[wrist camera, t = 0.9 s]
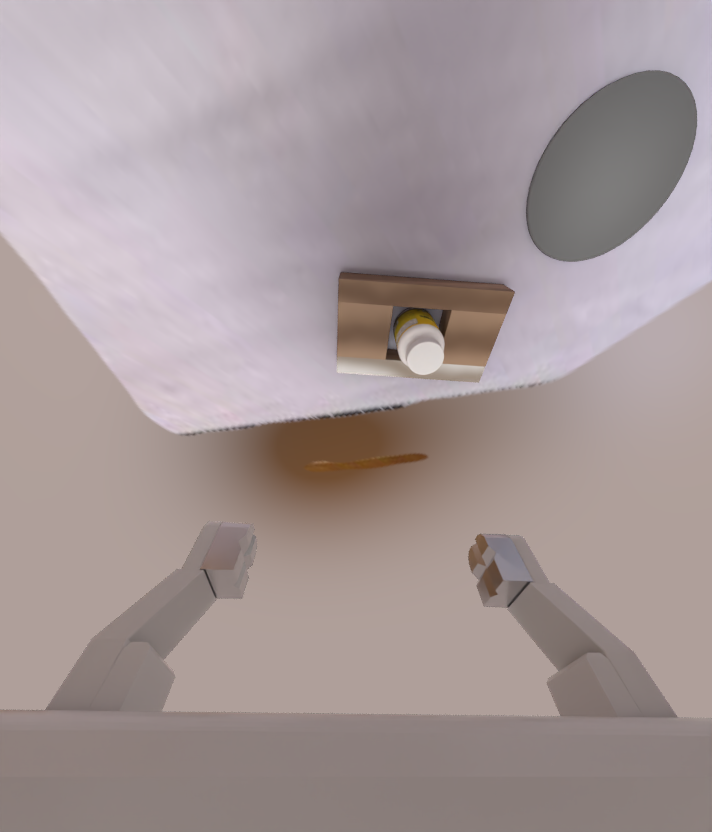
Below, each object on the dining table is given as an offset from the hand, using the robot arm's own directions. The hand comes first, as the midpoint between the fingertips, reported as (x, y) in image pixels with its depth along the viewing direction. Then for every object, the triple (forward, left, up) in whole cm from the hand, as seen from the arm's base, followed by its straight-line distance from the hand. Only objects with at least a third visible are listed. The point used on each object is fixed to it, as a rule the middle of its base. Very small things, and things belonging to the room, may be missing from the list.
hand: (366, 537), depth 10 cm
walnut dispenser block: (+4, +7, -32) cm, 33 cm away
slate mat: (-12, +23, -32) cm, 41 cm away
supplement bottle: (+4, +7, -32) cm, 33 cm away
